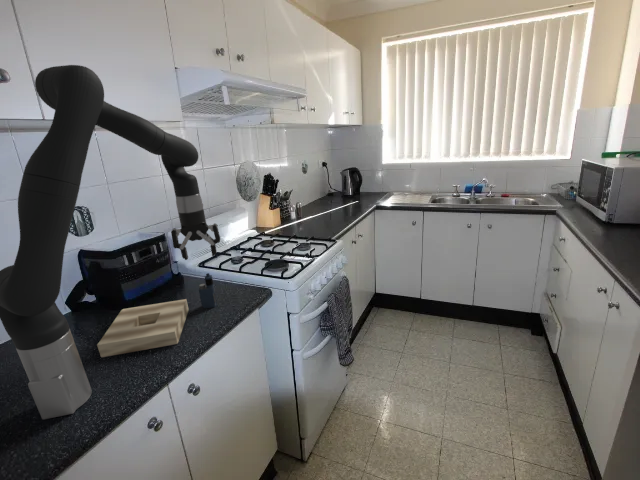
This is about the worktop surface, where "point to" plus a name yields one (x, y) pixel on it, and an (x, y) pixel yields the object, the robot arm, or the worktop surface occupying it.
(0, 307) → the robot arm
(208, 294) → the vaping device
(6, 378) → the worktop surface
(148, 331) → the socket dock
